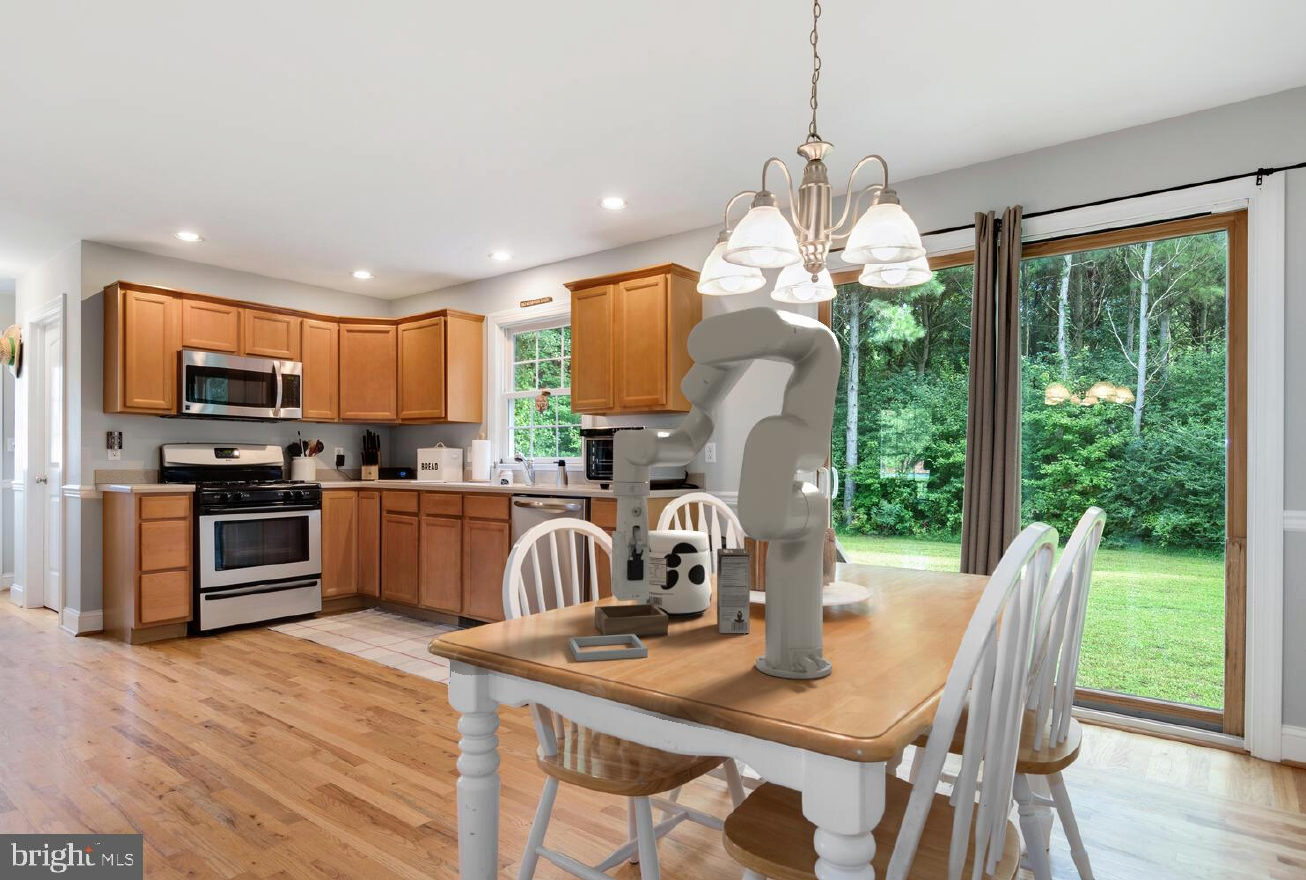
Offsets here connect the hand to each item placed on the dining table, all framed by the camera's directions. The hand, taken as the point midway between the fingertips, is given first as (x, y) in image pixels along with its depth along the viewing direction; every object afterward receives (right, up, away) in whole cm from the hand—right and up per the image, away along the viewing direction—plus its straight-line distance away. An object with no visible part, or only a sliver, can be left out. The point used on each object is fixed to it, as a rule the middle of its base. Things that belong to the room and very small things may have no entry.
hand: (630, 576), depth 151 cm
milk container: (+9, -12, +17) cm, 22 cm away
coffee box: (+21, -12, +2) cm, 24 cm away
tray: (-4, -11, -16) cm, 19 cm away
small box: (0, -4, 0) cm, 4 cm away
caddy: (0, -11, 0) cm, 11 cm away
